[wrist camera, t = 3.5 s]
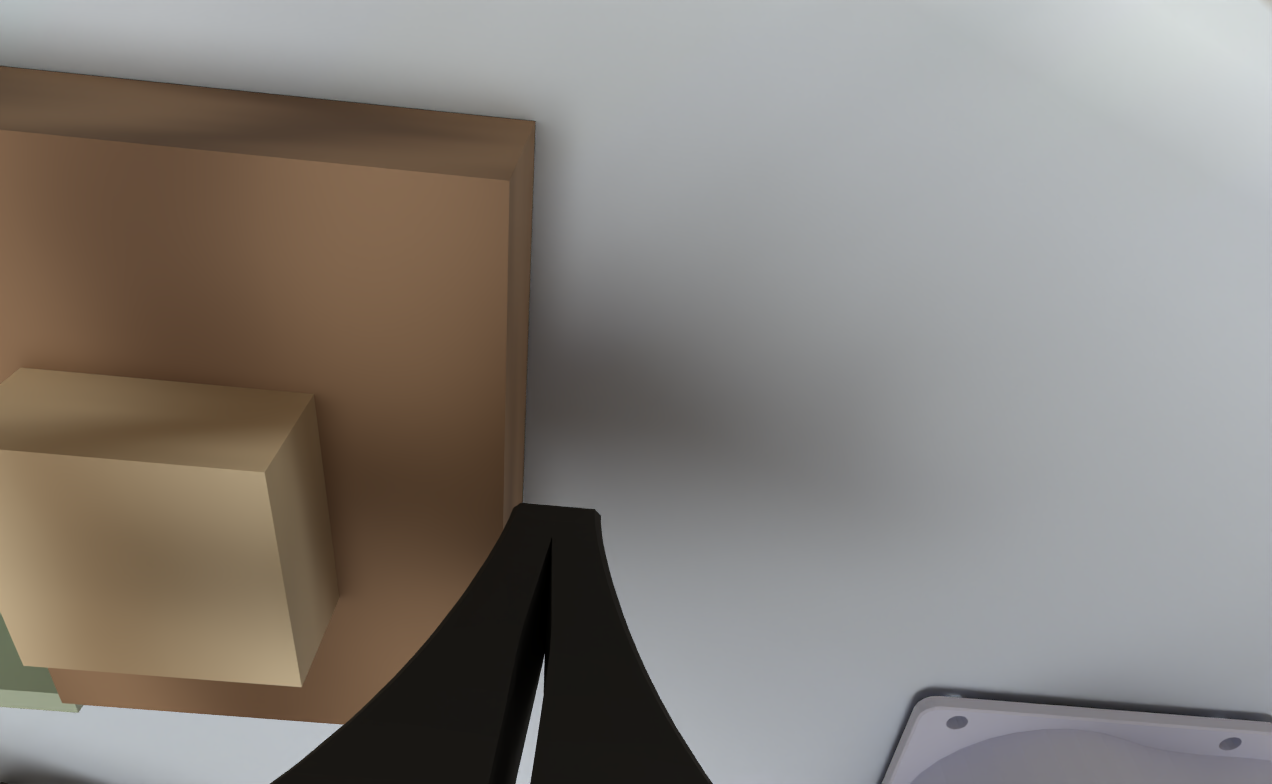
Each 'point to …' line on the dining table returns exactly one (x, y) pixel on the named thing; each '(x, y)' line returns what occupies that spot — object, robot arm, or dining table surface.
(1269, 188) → the dining table surface
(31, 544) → the maple tile
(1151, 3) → the dining table surface
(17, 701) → the sage tray
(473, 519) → the walnut board
